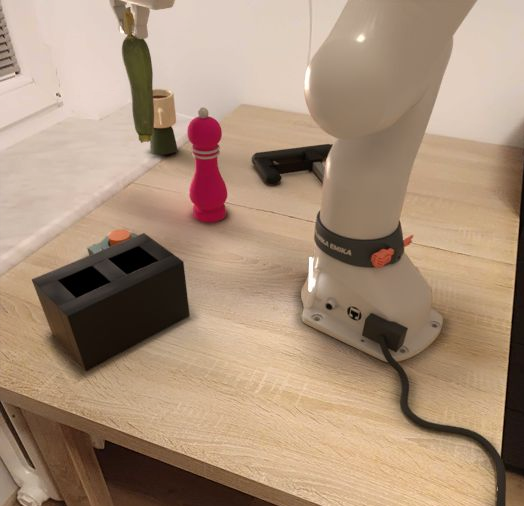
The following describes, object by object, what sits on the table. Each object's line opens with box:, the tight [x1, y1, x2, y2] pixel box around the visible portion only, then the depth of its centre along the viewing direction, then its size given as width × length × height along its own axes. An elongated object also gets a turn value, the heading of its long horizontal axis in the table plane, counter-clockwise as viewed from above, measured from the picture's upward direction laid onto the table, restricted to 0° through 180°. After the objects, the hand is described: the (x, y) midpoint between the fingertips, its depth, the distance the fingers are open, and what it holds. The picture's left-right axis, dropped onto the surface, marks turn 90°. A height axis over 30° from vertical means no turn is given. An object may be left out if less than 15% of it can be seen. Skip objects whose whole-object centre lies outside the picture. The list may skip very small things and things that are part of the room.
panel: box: [86, 231, 139, 256], centre depth 85 cm, size 10×8×4 cm
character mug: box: [149, 88, 178, 156], centre depth 114 cm, size 11×7×13 cm, turn 15°
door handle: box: [251, 143, 333, 186], centre depth 111 cm, size 3×20×16 cm
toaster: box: [31, 232, 190, 372], centre depth 71 cm, size 10×18×10 cm, turn 133°
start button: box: [107, 228, 131, 246], centre depth 83 cm, size 4×4×2 cm
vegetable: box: [121, 6, 154, 144], centre depth 81 cm, size 4×4×20 cm
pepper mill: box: [186, 107, 228, 223], centre depth 91 cm, size 7×7×20 cm
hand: (133, 35), depth 77 cm, fingers closed on vegetable, 3 cm apart
